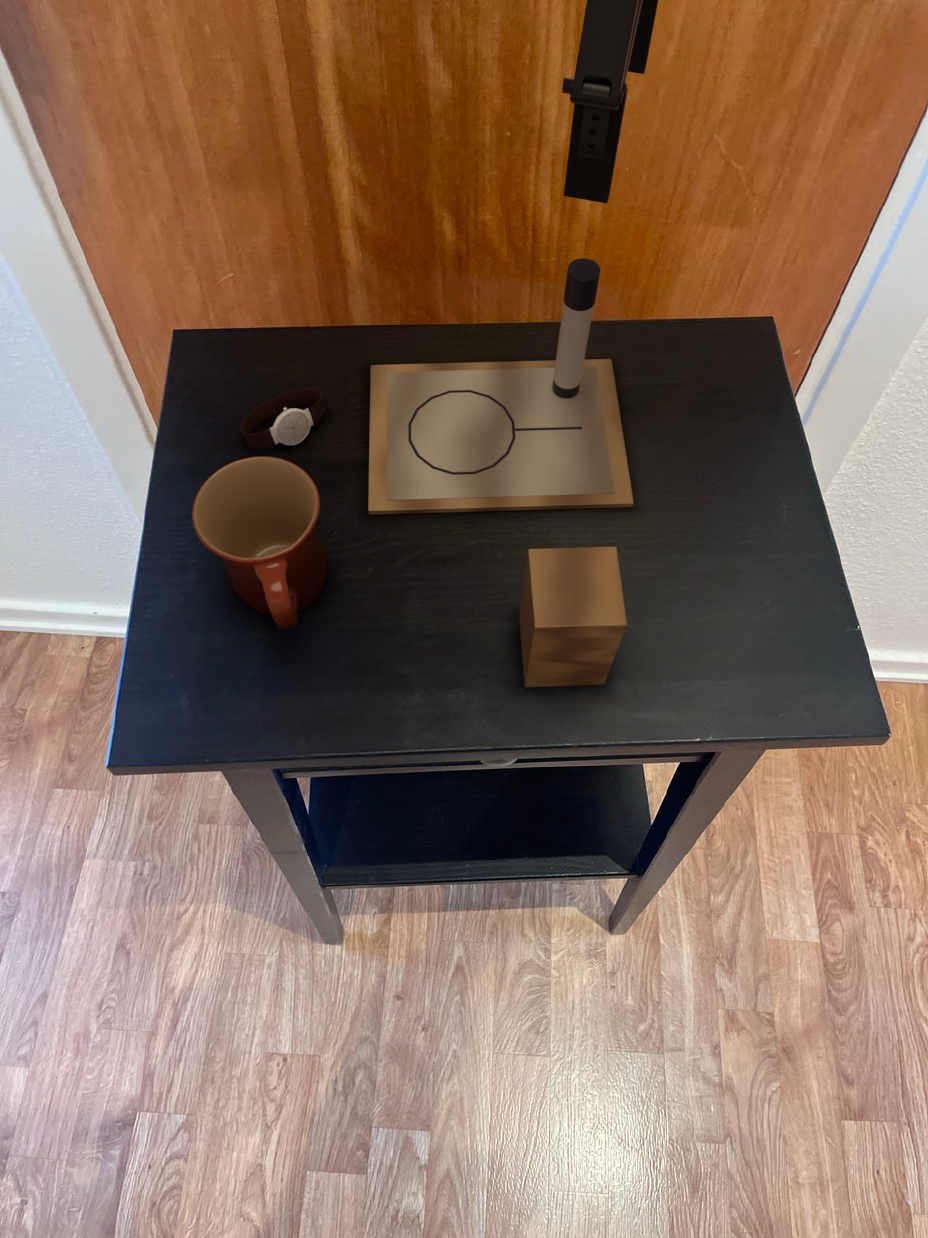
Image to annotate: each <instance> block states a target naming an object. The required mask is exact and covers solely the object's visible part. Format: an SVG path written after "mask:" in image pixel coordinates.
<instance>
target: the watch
mask: <svg viewBox="0 0 928 1238" xmlns="http://www.w3.org/2000/svg"><path fill="white" fill-rule="evenodd" d="M323 398H324V397H323V393H322V392H321V391H320V390H319V389H318V388H317V389H316V388H311V387H309V388H308V387H303V388H298V389H293V390H290V391H287V392H283V393H281V394H277V395H275V396H274V397H271V398H269V399H267V400H266V401H265V402H264V403H262V404H260V405H258V406H257V407H256V408H253V409H252V410H251V411H250V412H249V413H247V415H245V417H244V418H243V419H242V421H241V423H240V426H239V427H240V428H239V430H240V432H241V434H242V436H243V439H244V440H245V442H246V444H247V445H248V446H249V447H251V448H254V449H262V448H265V447H270V446H272V445H278V444H279V443H280V444H283V445H285V446H295V445H298V444H300V443H301V442H302V441H304V440H305V439H306V437H307V436H308V435H309V433H310V430H311V427H312V426H314V424H315V423H316V422H318V421H319V420H320V419H321V418H322V417H323V416H324V415H325V413H326V406H325V401H324V399H323ZM307 404H313V405H312V406H309V407H308V408H304V409H301V408H296V407H298V406H302V405H307ZM276 416H277V417H276ZM273 417H276V419H275V421H274V423H273V425H272V426H271V427H269V428H268V429H266V430H262V431H259V432H255V433H253V432H254V430H255V429H256V428H257V427H259V426H260V425H262V424H263V423H264V422H266V421H268V420H270V419H271V418H273Z"/></svg>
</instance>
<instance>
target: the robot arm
mask: <svg viewBox="0 0 928 1238" xmlns="http://www.w3.org/2000/svg"><path fill="white" fill-rule="evenodd" d="M658 4H659V0H586V3H585V10H584V17H583V23H582V28H581V34H580V41H579V46H578V53H577V58H576V64H575V65H576V66H575V70H574V76H573V78H569V77H563V80H562V87H561V91H562V92H561V93H562V94H567V95H569V96H570V97H569V101H570V104H573V112H572V113H573V114H572V122H571V129H570V130H571V131H570V138H569V146H568V155H567V163H566V171H565V181H564V189H563V197H566V198H567V197H568V198H574V199H579V200H584V201H590V202H595V203H602V204H606V205H607V204H608V202H609V199H610V194H611V188H612V185H613V184H612V183H613V178H614V172H615V167H616V159H617V154H618V148H619V142H620V137H621V131H622V125H623V119H624V113H625V107H626V100H627V97H628V90H629V89H628V84H627V82H626V81H627V77H628V73H635V74H640V75H645V72H646V68H647V63H648V58H649V52H650V47H651V41H652V37H653V32H654V25H655V20H656V14H657V10H658Z"/></svg>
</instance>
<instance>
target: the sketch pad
mask: <svg viewBox="0 0 928 1238" xmlns="http://www.w3.org/2000/svg"><path fill="white" fill-rule="evenodd" d="M555 363H556V359H555V360H519V361H517V360H516V361H515V360H514V361H477V362H476V361H473V362H439V363H438V362H437V363H397V364H371V365H370V379H369V380H370V382H369V385H370V386H369V436H368V437H369V439H368V440H369V441H368V446H369V447H368V494H367V495H368V497H367V498H368V499H367V501H368V502H367V504H368V505H367V511H368V515H369V516H370V515H371V516H372V515H402V514H407V515H408V514H439V513H441V514H442V513H470V512H471V513H472V512H473V513H474V512H476V513H477V512H509V511H510V512H511V511H544V510H545V511H547V510H572V509H573V510H580V509H612V508H613V509H615V508H633V507H634V495H633V490H632V482H631V476H630V471H629V464H628V457H627V450H626V444H625V438H624V432H623V431H624V430H623V425H622V424H623V423H622V420H621V419H622V418H621V412H620V404H619V399H618V391H617V386H616V379H615V373H614V366H613V361H612V358H594V359H584V364H583V370H582V375H581V381H580V387H579V392H578V393H577V395H576V396H574V397H572V398H568V399H565V398H560V397H558V396H557V395H555V394H554V392H553V390H552V385H553V378H554V370H555Z"/></svg>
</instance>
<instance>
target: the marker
mask: <svg viewBox="0 0 928 1238" xmlns="http://www.w3.org/2000/svg"><path fill="white" fill-rule="evenodd" d="M600 277H601V267H600V265H599V264H598V262H596V261H595V260H593V259H590V258H583V257H582V258H576V259H573V260H572V261H571V262H570V263H569V264H568V265H567V270H566V277H565V285H564V291H563V304H562V312H561V319H560V326H559V334H558V341H557V349H556V354H555V355H556V356H555V360H556V363H555V370H554V378H553V385H552V390H553V392H554V394H555V395H557V396H558V397H560V398H565V399H568V398H572V397H574V396H576V395H577V393H578V392H579V387H580V381H581V375H582V370H583V364H584V360H585V359H586V352H587V347H588V340H589V336H590V331H591V324H592V317H593V313H594V307H595V303H596V299H597V294H598V288H599V283H600Z"/></svg>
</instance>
